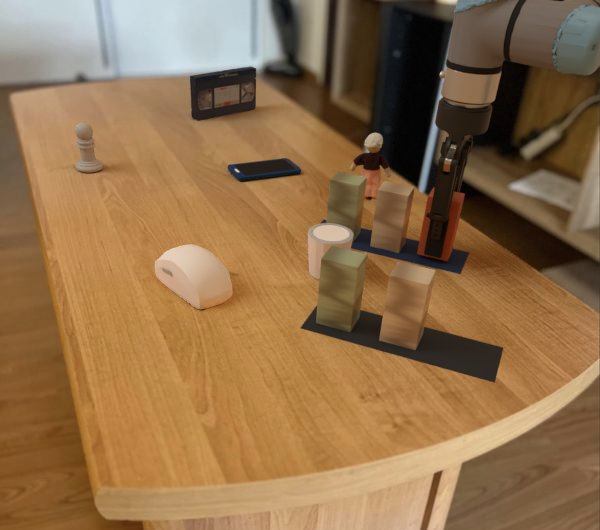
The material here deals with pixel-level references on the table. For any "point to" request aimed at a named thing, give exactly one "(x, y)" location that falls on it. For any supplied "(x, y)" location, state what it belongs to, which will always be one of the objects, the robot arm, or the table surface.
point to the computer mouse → (194, 275)
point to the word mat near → (421, 346)
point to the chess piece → (86, 149)
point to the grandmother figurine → (372, 165)
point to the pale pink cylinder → (326, 243)
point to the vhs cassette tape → (223, 92)
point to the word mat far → (411, 253)
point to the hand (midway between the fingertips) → (435, 248)
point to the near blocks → (398, 305)
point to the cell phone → (263, 169)
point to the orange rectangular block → (451, 229)
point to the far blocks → (388, 209)
